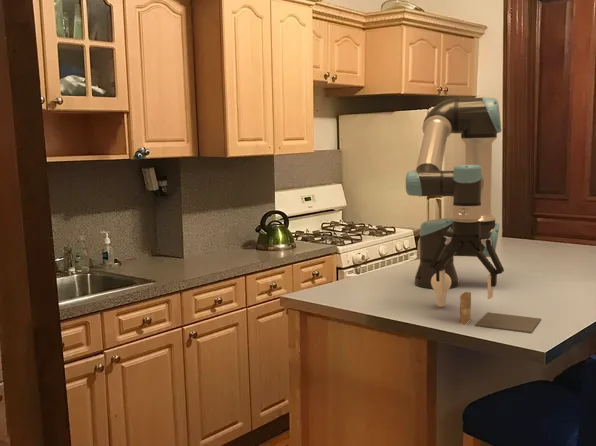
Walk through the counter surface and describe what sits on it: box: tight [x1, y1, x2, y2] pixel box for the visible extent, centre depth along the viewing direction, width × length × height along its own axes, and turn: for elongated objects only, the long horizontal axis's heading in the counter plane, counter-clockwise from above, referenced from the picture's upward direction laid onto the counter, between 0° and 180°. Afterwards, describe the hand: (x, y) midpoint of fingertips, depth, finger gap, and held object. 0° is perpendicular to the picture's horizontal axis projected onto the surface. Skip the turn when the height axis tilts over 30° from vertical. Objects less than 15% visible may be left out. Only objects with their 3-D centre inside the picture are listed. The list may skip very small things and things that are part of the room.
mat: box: [474, 311, 542, 334], centre depth 178 cm, size 15×14×1 cm
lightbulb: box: [431, 273, 451, 308], centre depth 196 cm, size 6×6×11 cm
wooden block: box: [459, 291, 472, 325], centre depth 180 cm, size 2×5×8 cm, turn 150°
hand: (465, 295), depth 179 cm, fingers open, 13 cm apart
